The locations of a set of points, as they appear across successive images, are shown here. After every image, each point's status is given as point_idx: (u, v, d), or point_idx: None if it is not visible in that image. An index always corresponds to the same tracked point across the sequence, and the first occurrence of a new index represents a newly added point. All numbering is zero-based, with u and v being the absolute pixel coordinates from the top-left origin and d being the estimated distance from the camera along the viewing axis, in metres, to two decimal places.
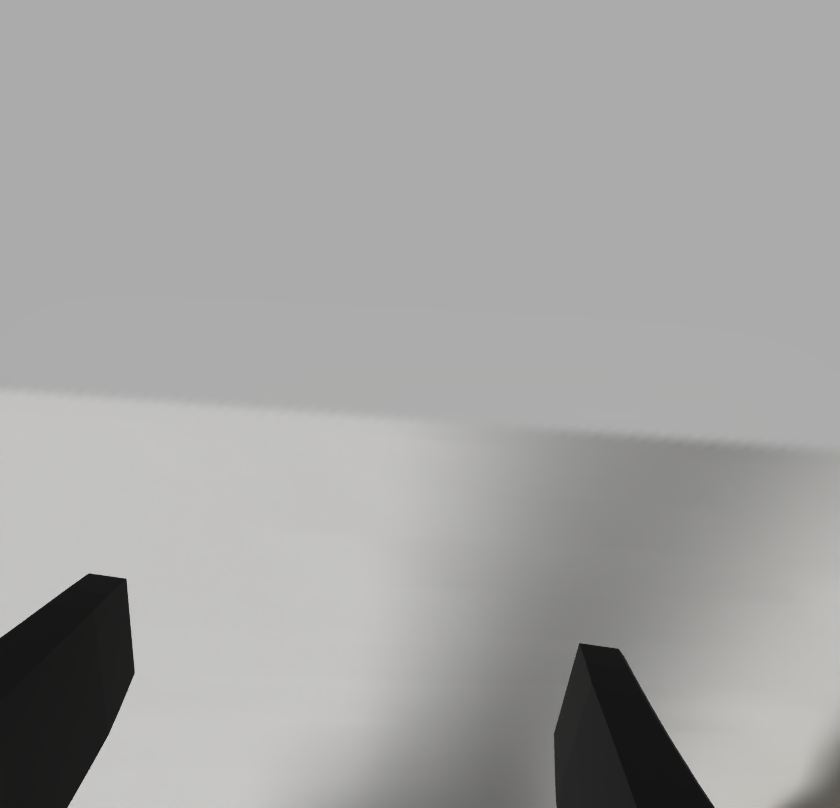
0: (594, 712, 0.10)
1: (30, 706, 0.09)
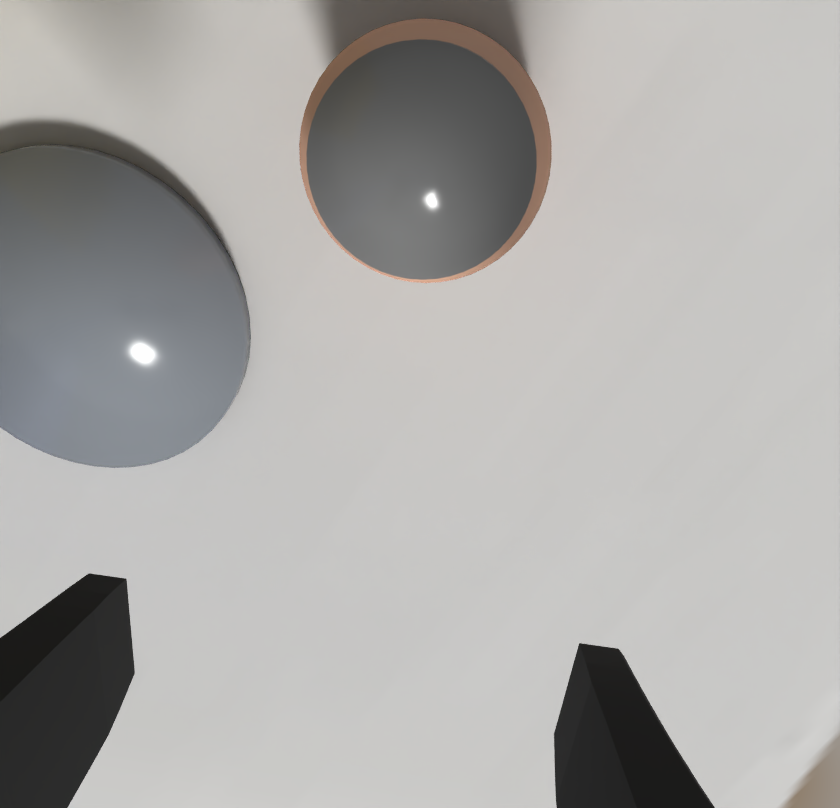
0: (594, 712, 0.10)
1: (30, 706, 0.09)
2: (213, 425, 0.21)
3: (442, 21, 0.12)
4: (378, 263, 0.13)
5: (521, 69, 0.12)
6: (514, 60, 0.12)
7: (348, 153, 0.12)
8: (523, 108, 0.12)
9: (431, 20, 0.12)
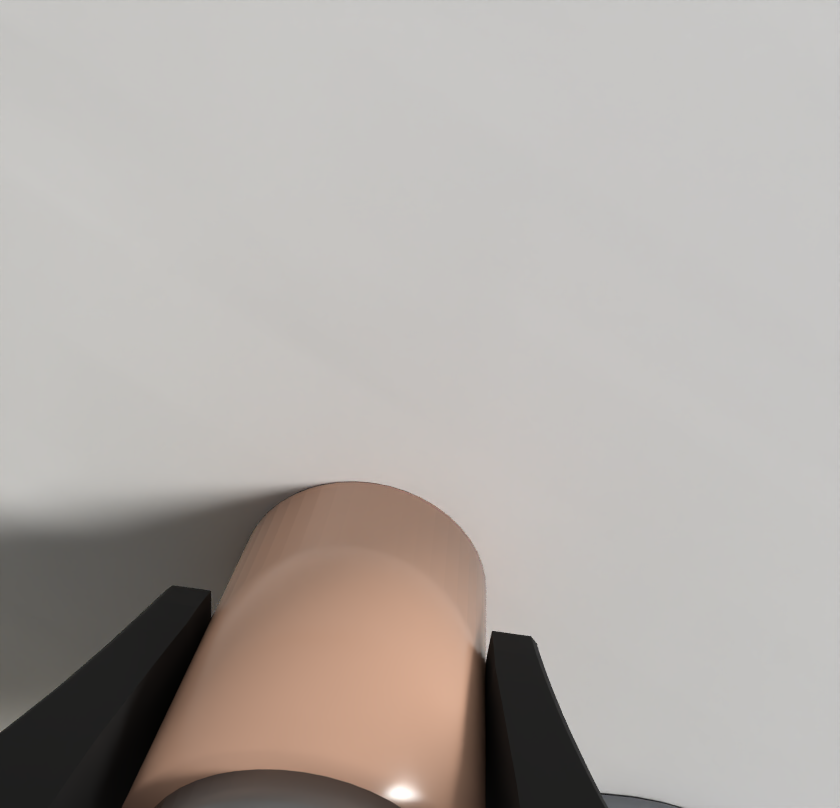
0: (496, 698, 0.10)
1: (134, 721, 0.09)
2: None
3: None
4: None
5: (155, 776, 0.08)
6: (143, 787, 0.08)
7: None
8: None
9: None
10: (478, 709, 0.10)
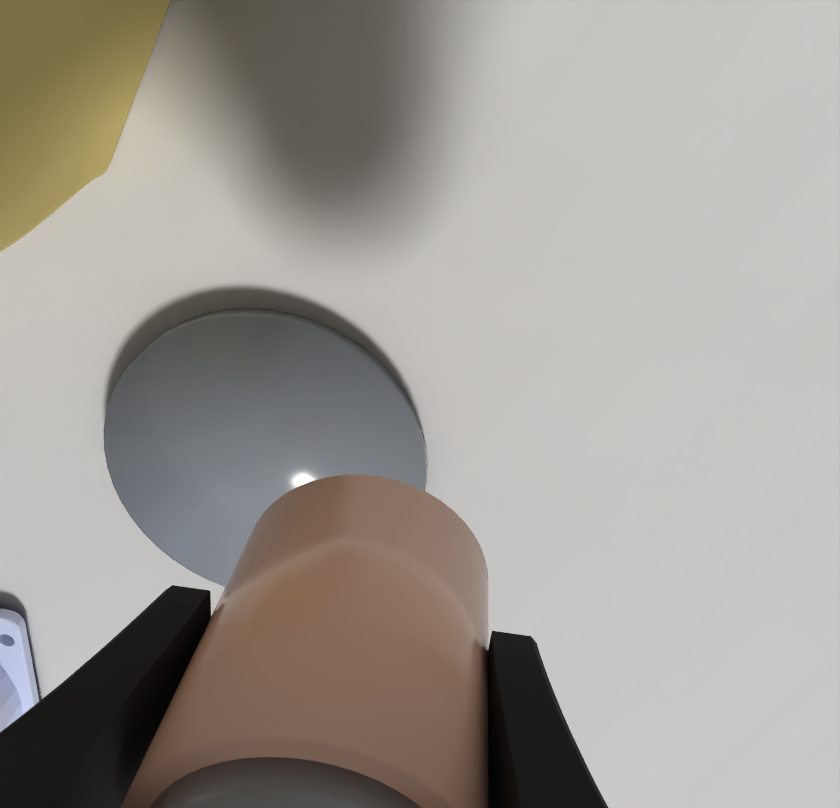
0: (496, 698, 0.10)
1: (133, 721, 0.09)
2: None
3: None
4: None
5: (162, 762, 0.08)
6: (150, 773, 0.08)
7: None
8: None
9: None
10: (482, 703, 0.10)
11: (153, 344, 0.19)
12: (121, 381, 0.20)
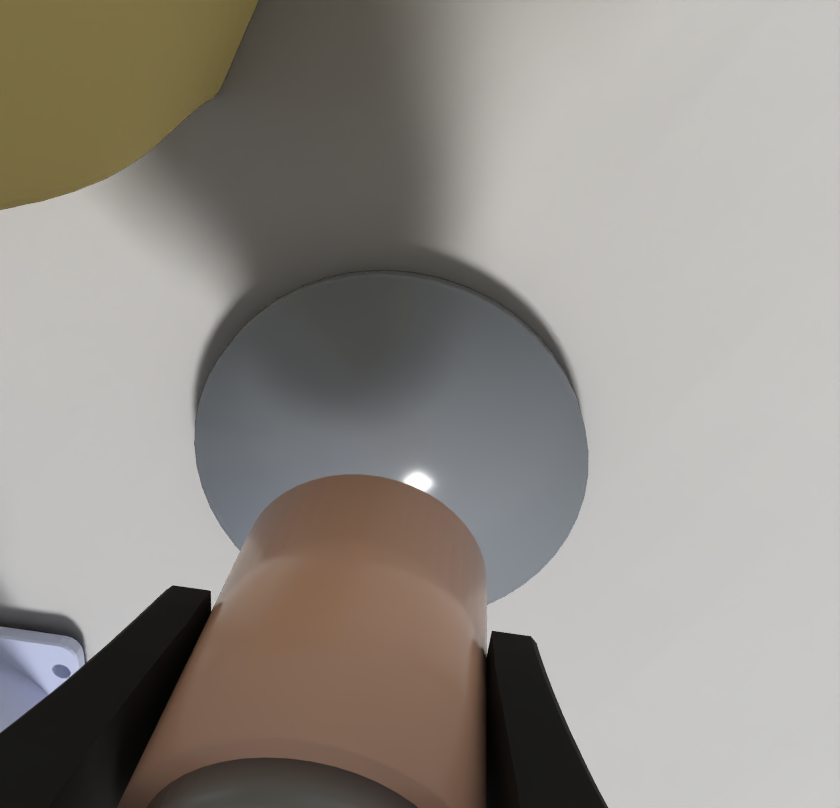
0: (495, 698, 0.10)
1: (134, 721, 0.09)
2: (526, 579, 0.18)
3: None
4: None
5: (161, 761, 0.08)
6: (148, 772, 0.08)
7: None
8: None
9: None
10: (481, 704, 0.10)
11: (264, 315, 0.15)
12: (221, 360, 0.16)
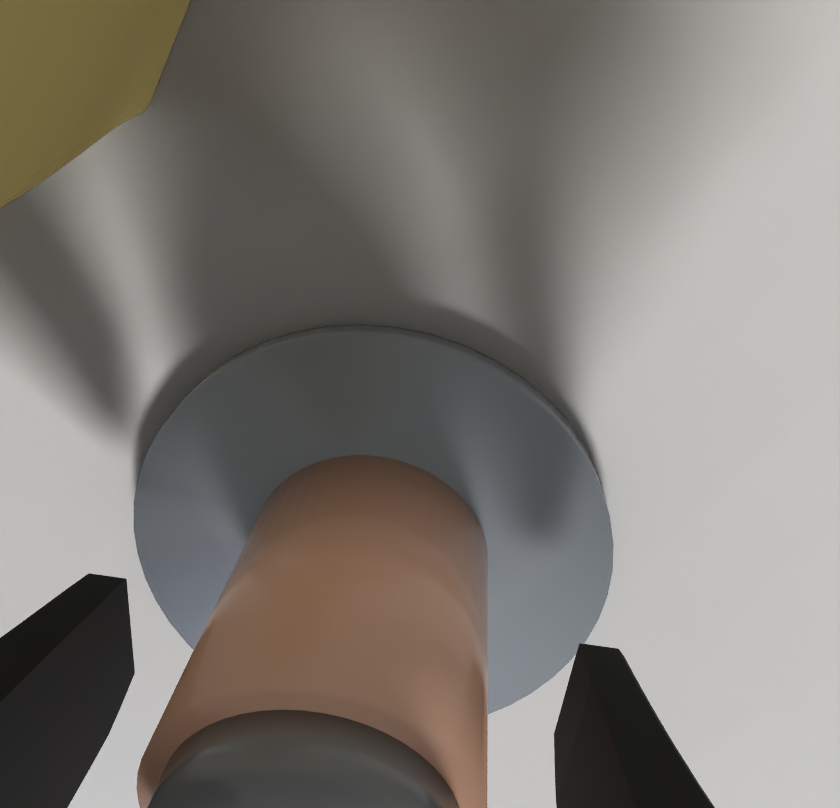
0: (594, 712, 0.10)
1: (30, 706, 0.09)
2: (535, 686, 0.15)
3: (138, 784, 0.09)
4: None
5: (183, 714, 0.09)
6: (171, 724, 0.09)
7: None
8: (203, 780, 0.08)
9: (140, 791, 0.09)
10: (482, 669, 0.11)
11: (213, 380, 0.12)
12: (162, 434, 0.13)
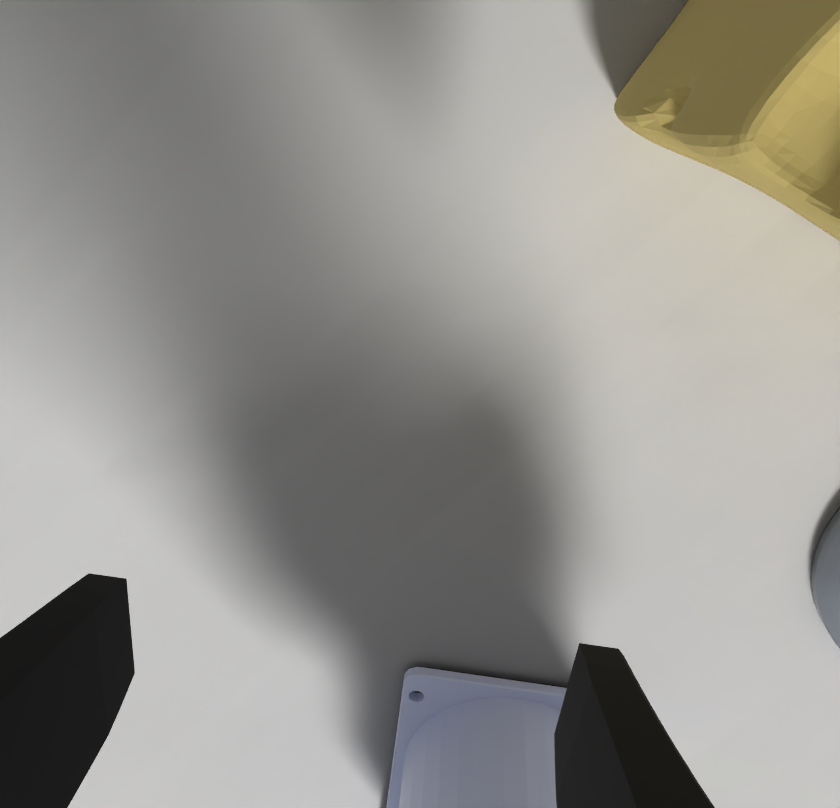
0: (594, 712, 0.10)
1: (30, 706, 0.09)
2: None
3: None
4: None
5: None
6: None
7: None
8: None
9: None
10: None
11: None
12: None
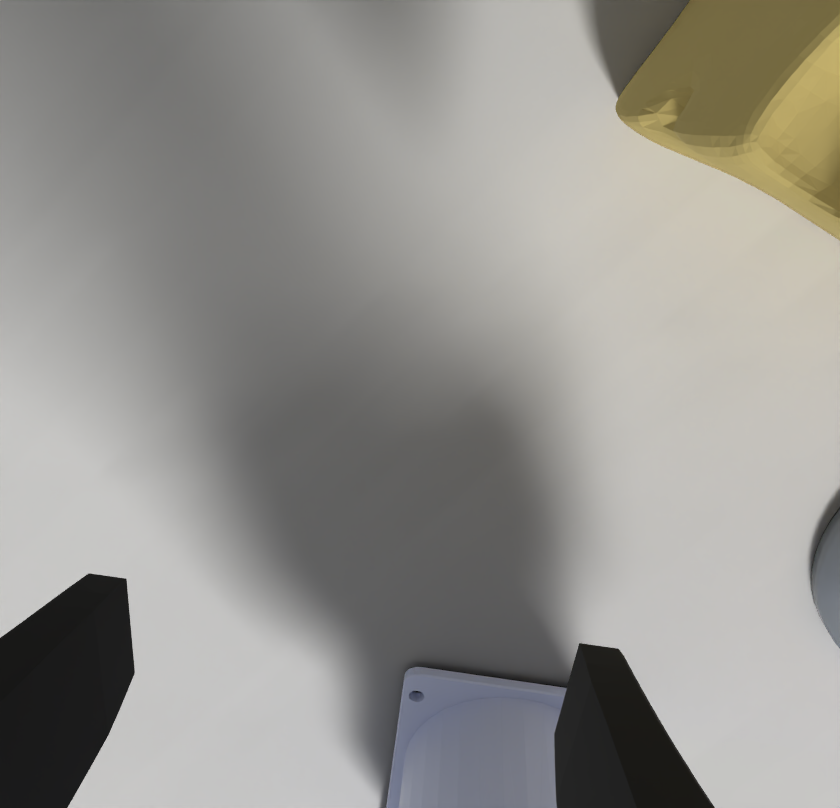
0: (594, 712, 0.10)
1: (30, 706, 0.09)
2: None
3: None
4: None
5: None
6: None
7: None
8: None
9: None
10: None
11: None
12: None
